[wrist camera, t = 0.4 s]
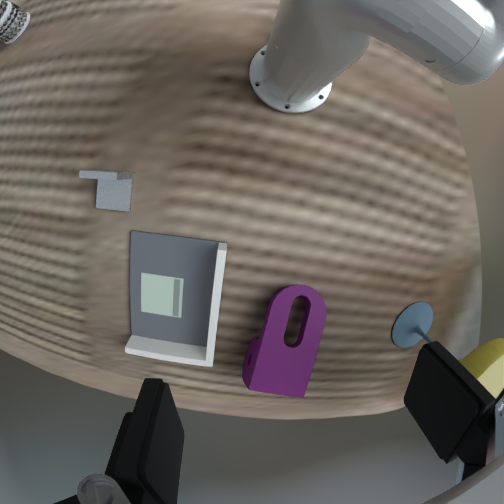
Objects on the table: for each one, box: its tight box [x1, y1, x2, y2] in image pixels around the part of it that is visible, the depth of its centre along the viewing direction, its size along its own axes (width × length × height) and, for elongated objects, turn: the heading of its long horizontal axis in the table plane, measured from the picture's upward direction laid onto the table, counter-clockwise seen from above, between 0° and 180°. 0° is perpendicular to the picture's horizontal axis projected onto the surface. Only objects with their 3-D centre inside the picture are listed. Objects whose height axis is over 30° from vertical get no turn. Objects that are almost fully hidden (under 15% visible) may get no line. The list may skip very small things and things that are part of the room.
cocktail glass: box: [392, 302, 504, 405], centre depth 38 cm, size 18×18×25 cm
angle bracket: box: [79, 170, 135, 211], centre depth 36 cm, size 6×6×7 cm
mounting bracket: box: [242, 285, 326, 398], centre depth 46 cm, size 9×8×18 cm
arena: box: [125, 230, 227, 367], centre depth 42 cm, size 20×15×5 cm
